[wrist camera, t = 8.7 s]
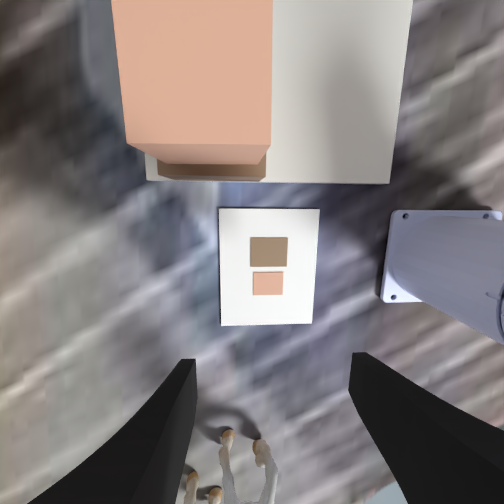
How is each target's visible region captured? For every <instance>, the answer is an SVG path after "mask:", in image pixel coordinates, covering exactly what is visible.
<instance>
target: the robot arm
mask: <svg viewBox="0 0 504 504" xmlns="http://www.w3.org/2000/svg"><path fill="white" fill-rule="evenodd" d="M404 213H405V218H404V219H403V217H402V216H403V214H404ZM483 216H484V218H483ZM392 295H394V296H393V297H392V298H391V296H392ZM380 298H381V300H383V301H384V302H387V303H389V302H425V303H427V304H429V305H431V306H433V307H434V308H436V309H438V310H440V311H442V312H444V313H445V314H447V315H449V316H451V317H453V318H455V319H456V320H458V321H460V322H462V323H464V324H466V325H467V326H469V327H471V328H473V329H475V330H477V331H479V332H480V333H482V334H484V335H486V336H488V337H490V338H491V339H493V340H495V341H497V342H499V343H501V344H502V345H504V220H502V213H501V212H500V211H494V210H395V211H394V212H393V213H392V215H391V220H390V228H389V235H388V243H387V250H386V257H385V265H384V272H383V280H382V287H381V295H380ZM348 391H349V393H350V396H351V398H352V400H353V403H354V405H355V407H356V409H357V412H358V414H359V416H360V417H361V419H362V421H363V423H364V425H365V426H366V428H367V430H368V432H369V433H370V435H371V437H372V439H373V440H374V442H375V444H376V445H377V447H378V449H379V451H380V452H381V454H382V456H383V457H384V459H385V461H386V463H387V464H388V466H389V468H390V470H391V471H392V473H393V475H394V477H395V479H396V481H397V482H398V484H399V486H400V488H401V490H402V492H403V494H404V496H405V498H406V500H407V503H408V504H504V431H503V430H501V429H499V428H497V427H494V426H492V425H490V424H488V423H486V422H484V421H482V420H480V419H478V418H476V417H474V416H472V415H470V414H468V413H466V412H464V411H462V410H460V409H458V408H456V407H454V406H453V405H451V404H449V403H447V402H445V401H444V400H442V399H440V398H438V397H437V396H435V395H433V394H432V393H430V392H428V391H426V390H425V389H423V388H421V387H420V386H418V385H417V384H415V383H413V382H412V381H410V380H409V379H407V378H405V377H404V376H402V375H401V374H399V373H398V372H396V371H395V370H393V369H391V368H390V367H388V366H387V365H385V364H384V363H382V362H381V361H379V360H377V359H376V358H374V357H373V356H371V355H369V354H368V353H366V352H359V353H353V354H352V363H351V371H350V380H349V389H348ZM196 404H197V379H196V359H181V360H180V361H179V362H178V364H177V365H176V366H175V368H174V369H173V370H172V372H171V373H170V374H169V376H168V377H167V378H166V379H165V381H164V382H163V383H162V384H161V385H160V387H159V388H158V389H157V390H156V391H155V393H154V394H153V395H152V396H151V397H150V398H149V400H148V401H147V402H146V403H145V404H144V405H143V406H142V407H141V408H140V409H139V410H138V412H137V413H136V414H135V415H134V416H133V417H132V418H131V419H130V420H129V421H128V422H127V423H126V424H125V425H124V426H123V427H122V428H121V429H120V430H119V431H118V432H117V433H116V434H115V435H113V436H112V437H111V438H110V439H109V440H108V441H107V442H106V443H105V444H103V445H102V446H101V447H100V448H99V449H98V450H96V451H95V452H94V453H93V454H92V455H91V456H89V457H88V458H87V459H86V460H85V461H83V462H82V463H81V464H80V465H79V466H77V467H76V468H75V469H73V470H72V471H71V472H70V473H68V474H67V475H66V476H64V477H63V478H62V479H61V480H59V481H58V482H56V483H55V484H54V485H52V486H51V487H50V488H48V489H47V490H46V491H44V492H43V493H42V494H40V495H39V496H37V497H36V498H35V499H33V500H32V501H30V502H29V503H27V504H175V502H176V497H177V492H178V488H179V483H180V479H181V475H182V471H183V467H184V463H185V459H186V454H187V450H188V446H189V442H190V438H191V434H192V429H193V425H194V419H195V412H196Z"/></svg>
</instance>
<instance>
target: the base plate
mask: <svg viewBox="0 0 504 504" xmlns="http://www.w3.org/2000/svg"><path fill="white" fill-rule="evenodd" d="M412 4H413V0H273V24H272V104H271V146H270V147H269V149H268V150H267V152H266V177H265V178H263V179H262V180H260V181H259V182H254V183H323V184H389V182H390V174H391V166H392V159H393V151H394V143H395V135H396V128H397V120H398V112H399V104H400V97H401V89H402V81H403V73H404V66H405V58H406V50H407V42H408V35H409V27H410V19H411V12H412ZM144 154H145V166H146V178H147V180H149V181H183V180H173V179H169V178H166V177H163V176H160V175H158V170H157V159H156V158H155V157H153V156H151V155H149V154H147V153H145V152H144ZM186 182H250V181H186Z"/></svg>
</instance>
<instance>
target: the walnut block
mask: <svg viewBox="0 0 504 504" xmlns="http://www.w3.org/2000/svg"><path fill="white" fill-rule="evenodd" d="M157 170H158V175H160V176H163V177H166V178H169V179H173V180H183V181H250V182H259V181H260V180H262V179H263V178H265V177H266V153H265V155H264V156H263V158H262V159H261V161H260V162H259V164H258V165H255V164H166V163H164V162H162V161H160V160H158V159H157Z"/></svg>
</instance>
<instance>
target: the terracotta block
mask: <svg viewBox="0 0 504 504" xmlns="http://www.w3.org/2000/svg"><path fill="white" fill-rule="evenodd" d="M111 4H112V13H113V22H114V31H115V40H116V49H117V59H118V68H119V77H120V86H121V95H122V104H123V113H124V122H125V131H126V140H127V144H129V145H131V146H133V147H135V148H137V149H139V150H141V151H143V152H145V153H147V154H149V155H151V156H153V157H155V158H156V159H158V160H160V161H162V162H164V163H166V164H255V165H258V164H259V162H260V161H261V159H262V158H263V156H264V155H265V153H266V152H267V150H268V149H269V147H270V146H271V104H272V24H273V0H111Z"/></svg>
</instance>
